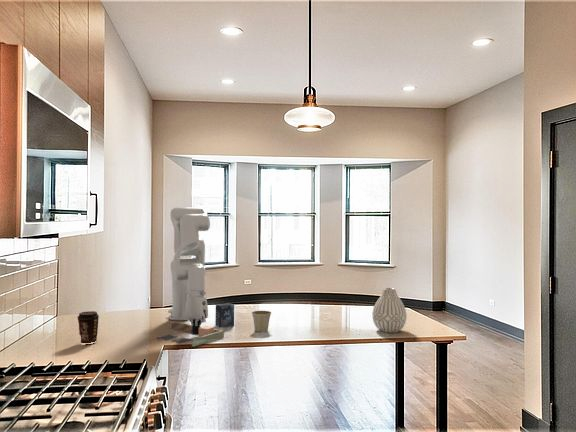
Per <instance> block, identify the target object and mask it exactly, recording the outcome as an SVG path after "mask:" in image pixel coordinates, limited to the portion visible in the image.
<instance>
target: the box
mask: <svg viewBox="0 0 576 432" xmlns="http://www.w3.org/2000/svg"><path fill="white" fill-rule="evenodd" d="M214 323H215V326H216V327H217V328H226V327H234V326H235V304H234V303H232V302H231V303H230V302H226V303H219V304H218V303H216V304H215V322H214Z"/></svg>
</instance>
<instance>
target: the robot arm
mask: <svg viewBox="0 0 576 432" xmlns="http://www.w3.org/2000/svg"><path fill="white" fill-rule="evenodd" d="M169 213H170V214H169V215H170V221H171V223H172V227H173V234H174V235H173V251H174V252H173V253H174V256H173V259H172V261H171V262H170V273H171V283H172V284H171V285H172V287H171V289H172V291H171V293H172V295H171V297H172V298H171V301H172V302H171V303H172V304H171V308H170V309H168V310H167V313H168V314H170V315H169V317H168V318H169V320H171V321H189V322H190V325H192V332H191V334H192V335H193V336H196V335H197V336H198V335H199V328H200V327H201V325H202V324H203V323H206V322H207V320H206V319H208V317H209V309H208V308H209V307H208V300H207V296H205V295H206V294H207V293H206V287H205V286H206V284H205V283H206V280H205V279H206V278H205V277H206V271H207V270H206V266H205V258H206V244H205V240H204V239H203V238H201V237H200V234H199V232H208V231H209V229H210V227H211V220H210V217H209V214H208V212H207V211H206V209H205V208H204V207H197V206H196V207H194V206H192V207H190V206H187V207H186V206H185V207H184V206H181V207H179V206H178V207H173V208H172V209H171V210H170V212H169ZM194 256H195V257H194Z"/></svg>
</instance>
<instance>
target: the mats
mask: <svg viewBox="0 0 576 432" xmlns="http://www.w3.org/2000/svg"><path fill="white" fill-rule="evenodd" d="M158 338H159V339H158ZM175 338H176V339H175ZM157 339H158V340H163V339H164V340H163V341H168V339H169V340H171V342H172V343H177V344H183V343H186V342H189V341H192V339H193V338H187V337H179V338H178V336H177V335H172V334H166V335H162V336H158V337H157Z"/></svg>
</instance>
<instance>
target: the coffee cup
mask: <svg viewBox="0 0 576 432" xmlns="http://www.w3.org/2000/svg"><path fill="white" fill-rule="evenodd" d="M99 318H100V316H99V314H98V311H93V310H92V311H82V312H79V313H78V315H77V322H78V334H79V336H80V342H81V343H91V342H95V341H97V340H98V333H99V332H98V331H99Z"/></svg>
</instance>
